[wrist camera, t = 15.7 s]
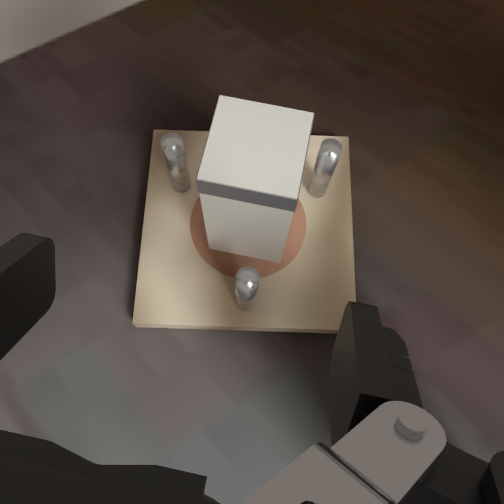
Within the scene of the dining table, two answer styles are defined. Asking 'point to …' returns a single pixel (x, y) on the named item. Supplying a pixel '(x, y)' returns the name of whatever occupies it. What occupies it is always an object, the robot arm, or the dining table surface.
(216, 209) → the block
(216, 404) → the dining table surface
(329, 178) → the pin cradle
